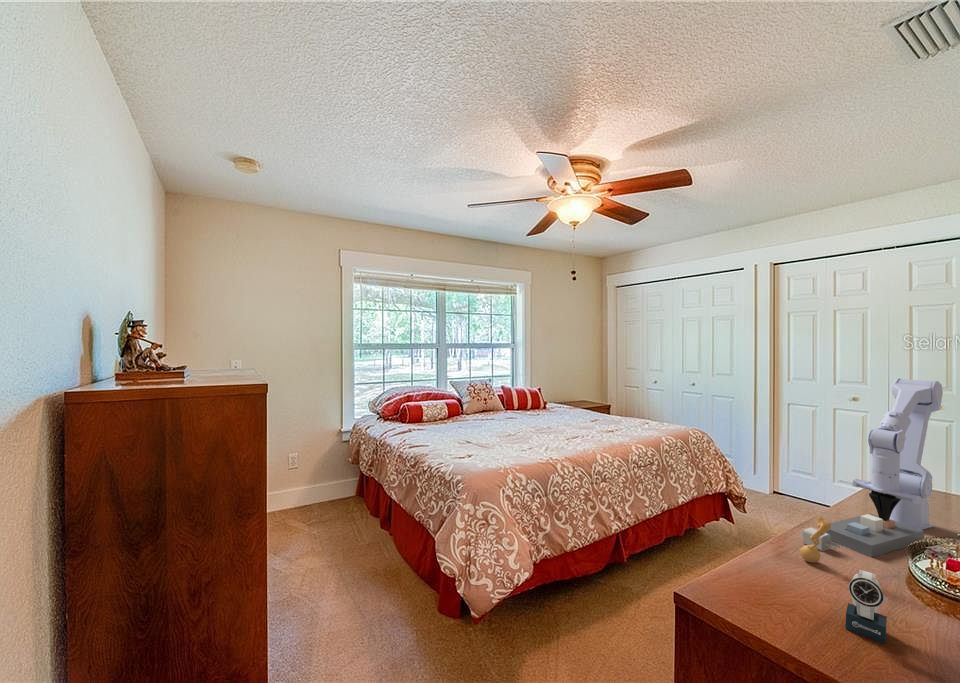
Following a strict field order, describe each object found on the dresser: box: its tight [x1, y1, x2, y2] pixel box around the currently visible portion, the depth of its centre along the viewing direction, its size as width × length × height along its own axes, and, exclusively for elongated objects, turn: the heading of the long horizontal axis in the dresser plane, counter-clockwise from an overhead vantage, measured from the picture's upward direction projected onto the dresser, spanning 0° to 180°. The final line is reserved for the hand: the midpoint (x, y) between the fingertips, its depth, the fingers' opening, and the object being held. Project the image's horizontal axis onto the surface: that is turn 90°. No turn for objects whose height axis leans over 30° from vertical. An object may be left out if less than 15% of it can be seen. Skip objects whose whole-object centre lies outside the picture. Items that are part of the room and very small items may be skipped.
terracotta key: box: [878, 517, 895, 529], centre depth 119 cm, size 3×3×4 cm
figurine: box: [799, 516, 831, 564], centre depth 104 cm, size 8×6×12 cm
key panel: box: [826, 513, 925, 558], centre depth 117 cm, size 24×12×3 cm, turn 111°
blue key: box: [847, 522, 870, 536], centre depth 115 cm, size 3×3×4 cm
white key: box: [859, 513, 883, 533], centre depth 117 cm, size 3×3×4 cm
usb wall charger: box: [802, 527, 841, 552], centre depth 111 cm, size 4×7×4 cm, turn 23°
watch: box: [845, 569, 888, 645], centre depth 80 cm, size 6×8×11 cm
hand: (884, 519), depth 119 cm, fingers closed, pressing on terracotta key
